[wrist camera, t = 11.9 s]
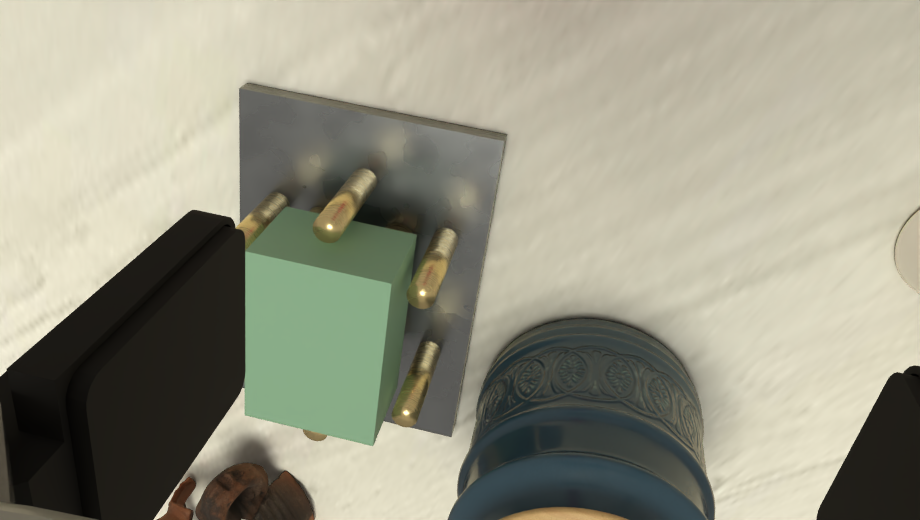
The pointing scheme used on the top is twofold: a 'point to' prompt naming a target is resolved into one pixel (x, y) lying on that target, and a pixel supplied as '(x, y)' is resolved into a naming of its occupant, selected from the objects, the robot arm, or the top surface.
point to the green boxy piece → (325, 325)
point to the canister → (586, 431)
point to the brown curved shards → (243, 497)
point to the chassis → (384, 216)
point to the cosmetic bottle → (909, 252)
